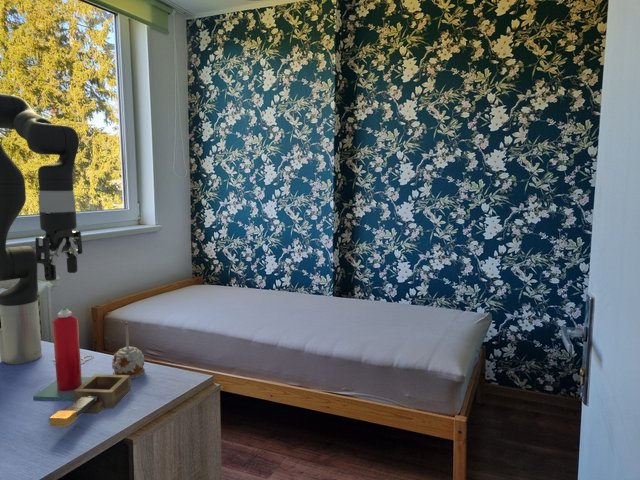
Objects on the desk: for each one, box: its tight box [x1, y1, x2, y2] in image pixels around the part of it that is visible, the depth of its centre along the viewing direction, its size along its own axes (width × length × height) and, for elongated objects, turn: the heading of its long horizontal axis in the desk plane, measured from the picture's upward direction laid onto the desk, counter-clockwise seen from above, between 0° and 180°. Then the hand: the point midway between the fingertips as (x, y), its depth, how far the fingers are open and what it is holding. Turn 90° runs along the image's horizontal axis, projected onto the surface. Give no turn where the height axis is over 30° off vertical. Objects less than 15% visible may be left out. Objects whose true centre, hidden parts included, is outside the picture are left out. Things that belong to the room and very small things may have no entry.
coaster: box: [32, 376, 92, 402], centre depth 112 cm, size 11×11×1 cm
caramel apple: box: [111, 321, 145, 380], centre depth 119 cm, size 8×8×15 cm
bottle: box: [52, 308, 82, 391], centre depth 110 cm, size 5×6×20 cm
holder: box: [73, 373, 131, 415], centre depth 106 cm, size 9×12×4 cm
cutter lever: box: [49, 396, 99, 428], centre depth 96 cm, size 12×4×2 cm, turn 178°
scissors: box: [51, 354, 94, 377], centre depth 124 cm, size 11×1×20 cm
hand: (62, 276), depth 108 cm, fingers open, 8 cm apart
